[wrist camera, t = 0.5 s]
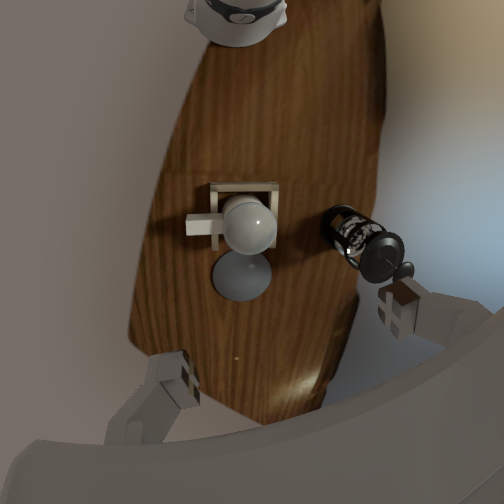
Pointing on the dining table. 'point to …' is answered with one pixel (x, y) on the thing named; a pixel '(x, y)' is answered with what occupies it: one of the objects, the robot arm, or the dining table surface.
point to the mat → (241, 275)
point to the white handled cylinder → (238, 224)
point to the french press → (366, 246)
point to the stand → (244, 186)
